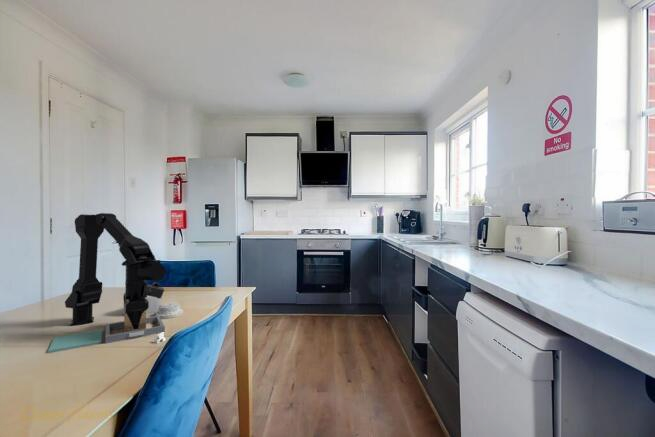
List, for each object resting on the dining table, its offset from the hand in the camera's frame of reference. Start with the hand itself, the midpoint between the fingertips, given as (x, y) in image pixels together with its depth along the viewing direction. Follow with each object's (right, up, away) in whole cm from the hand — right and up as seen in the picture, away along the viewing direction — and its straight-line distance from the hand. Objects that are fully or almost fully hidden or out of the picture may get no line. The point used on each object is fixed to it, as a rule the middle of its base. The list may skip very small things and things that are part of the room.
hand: (135, 325), depth 101 cm
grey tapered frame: (0, -2, 0) cm, 2 cm away
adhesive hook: (+12, -3, -8) cm, 15 cm away
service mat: (-12, -2, -9) cm, 15 cm away
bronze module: (0, -2, 0) cm, 2 cm away
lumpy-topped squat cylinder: (-11, -3, +22) cm, 24 cm away
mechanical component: (+2, -3, +18) cm, 19 cm away
